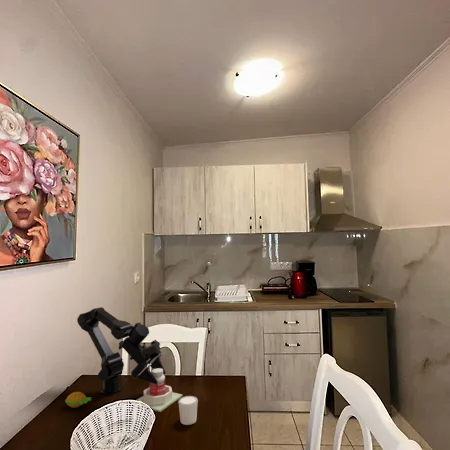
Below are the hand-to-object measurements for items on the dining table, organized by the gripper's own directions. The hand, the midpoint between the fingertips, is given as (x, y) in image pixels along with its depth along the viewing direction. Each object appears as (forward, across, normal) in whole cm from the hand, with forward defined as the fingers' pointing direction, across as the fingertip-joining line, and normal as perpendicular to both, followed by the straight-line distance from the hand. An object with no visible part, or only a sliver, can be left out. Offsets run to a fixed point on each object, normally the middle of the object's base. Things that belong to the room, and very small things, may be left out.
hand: (160, 378), depth 129 cm
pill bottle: (+5, 0, +7) cm, 8 cm away
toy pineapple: (-16, -8, +28) cm, 33 cm away
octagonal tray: (+5, 0, +7) cm, 9 cm away
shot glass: (+17, -13, -4) cm, 22 cm away
